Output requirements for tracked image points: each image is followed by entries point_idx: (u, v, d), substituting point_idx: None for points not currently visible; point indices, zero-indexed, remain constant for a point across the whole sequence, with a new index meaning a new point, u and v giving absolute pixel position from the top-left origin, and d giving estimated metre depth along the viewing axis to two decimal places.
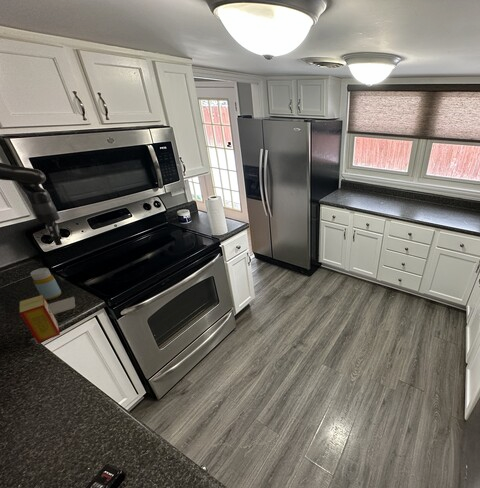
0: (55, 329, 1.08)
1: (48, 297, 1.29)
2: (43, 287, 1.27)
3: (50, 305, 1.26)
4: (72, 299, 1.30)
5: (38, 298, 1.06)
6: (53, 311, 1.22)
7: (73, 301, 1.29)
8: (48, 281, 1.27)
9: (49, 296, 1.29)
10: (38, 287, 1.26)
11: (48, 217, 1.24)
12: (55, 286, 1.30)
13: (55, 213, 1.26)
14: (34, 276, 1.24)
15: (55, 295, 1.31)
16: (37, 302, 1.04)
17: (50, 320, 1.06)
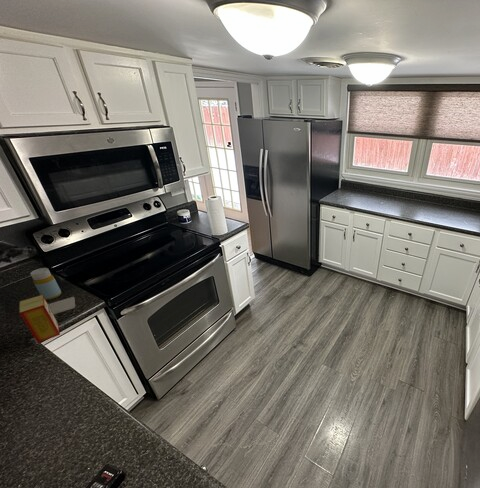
0: (55, 329, 1.08)
1: (48, 297, 1.29)
2: (43, 287, 1.27)
3: (50, 305, 1.26)
4: (72, 299, 1.30)
5: (38, 298, 1.06)
6: (53, 311, 1.22)
7: (73, 301, 1.29)
8: (48, 281, 1.27)
9: (49, 296, 1.29)
10: (38, 287, 1.26)
11: None
12: (55, 286, 1.30)
13: None
14: (34, 276, 1.24)
15: (55, 295, 1.31)
16: (37, 302, 1.04)
17: (50, 320, 1.06)
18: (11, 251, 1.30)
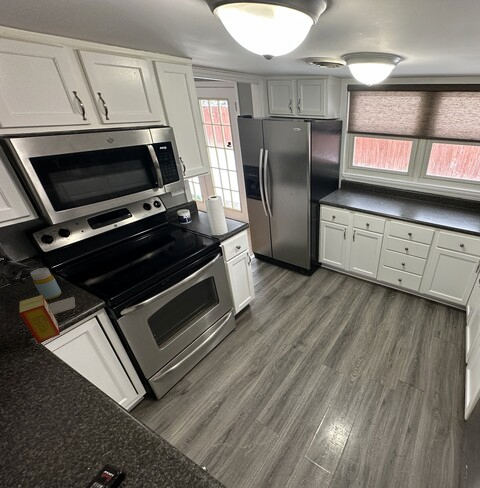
0: (55, 329, 1.08)
1: (48, 297, 1.29)
2: (43, 287, 1.27)
3: (50, 305, 1.26)
4: (72, 299, 1.30)
5: (38, 298, 1.06)
6: (53, 311, 1.22)
7: (73, 301, 1.29)
8: (48, 281, 1.27)
9: (49, 296, 1.29)
10: (38, 287, 1.26)
11: None
12: (55, 286, 1.30)
13: None
14: (34, 276, 1.24)
15: (55, 295, 1.31)
16: (37, 302, 1.04)
17: (50, 320, 1.06)
18: (24, 272, 1.33)
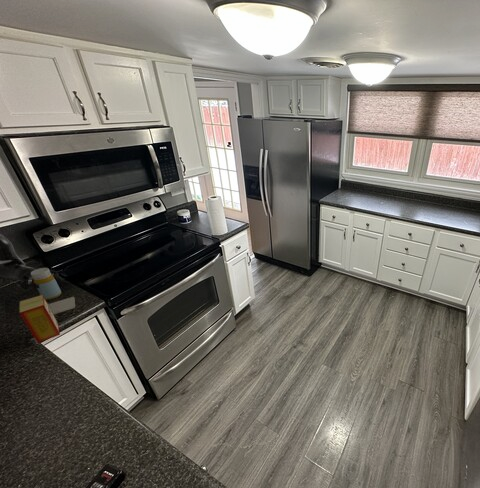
0: (55, 329, 1.08)
1: (48, 297, 1.29)
2: (44, 287, 1.27)
3: (50, 305, 1.26)
4: (72, 299, 1.30)
5: (38, 298, 1.06)
6: (53, 311, 1.22)
7: (73, 301, 1.29)
8: (48, 281, 1.27)
9: (49, 296, 1.29)
10: None
11: None
12: (55, 286, 1.30)
13: None
14: (34, 276, 1.24)
15: (55, 295, 1.31)
16: (37, 302, 1.04)
17: (50, 320, 1.06)
18: None
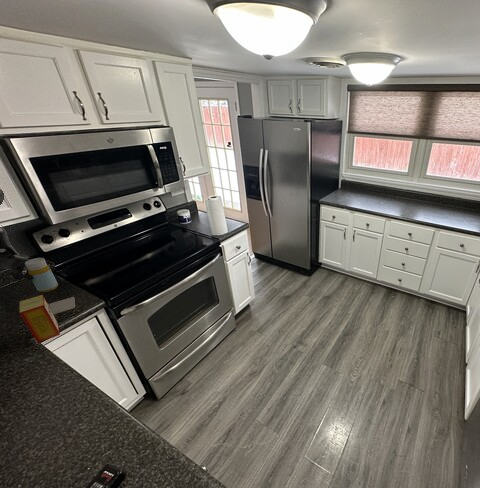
0: (55, 329, 1.08)
1: (44, 289, 1.21)
2: (39, 279, 1.18)
3: (50, 305, 1.26)
4: (72, 299, 1.30)
5: (38, 298, 1.06)
6: (53, 311, 1.22)
7: (73, 301, 1.29)
8: (44, 272, 1.19)
9: (45, 289, 1.21)
10: None
11: None
12: (51, 277, 1.22)
13: None
14: (29, 266, 1.15)
15: (51, 287, 1.22)
16: (37, 302, 1.04)
17: (50, 320, 1.06)
18: None
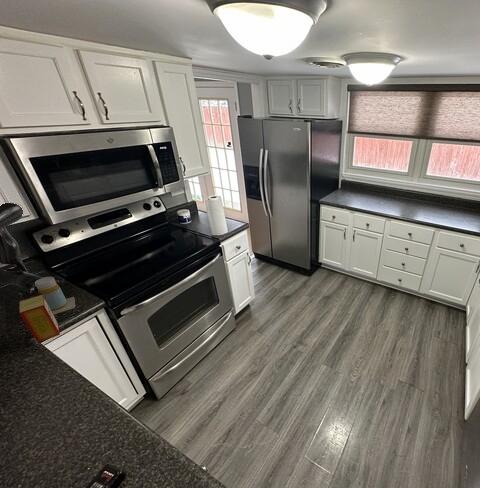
0: (55, 329, 1.08)
1: (53, 308, 1.22)
2: (49, 298, 1.19)
3: None
4: (72, 299, 1.30)
5: (38, 298, 1.06)
6: (53, 311, 1.22)
7: (73, 301, 1.29)
8: (53, 291, 1.20)
9: (55, 307, 1.22)
10: None
11: None
12: (61, 296, 1.23)
13: None
14: (39, 286, 1.16)
15: (61, 305, 1.23)
16: (37, 302, 1.04)
17: (50, 320, 1.06)
18: None
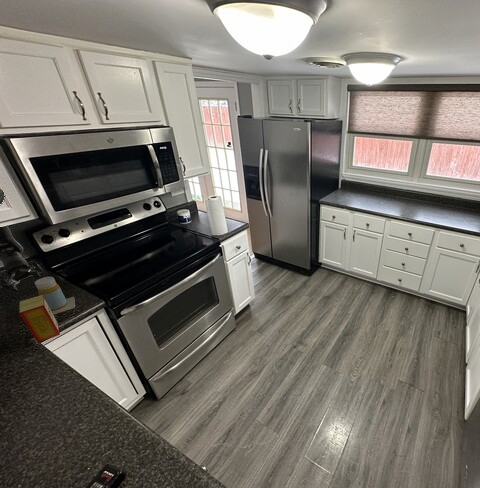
0: (55, 329, 1.08)
1: (53, 308, 1.22)
2: (49, 298, 1.19)
3: None
4: (72, 299, 1.30)
5: (38, 298, 1.06)
6: (53, 311, 1.22)
7: (73, 301, 1.29)
8: (53, 291, 1.20)
9: (55, 307, 1.22)
10: None
11: None
12: (61, 296, 1.23)
13: None
14: (39, 286, 1.16)
15: (61, 305, 1.23)
16: (37, 302, 1.04)
17: (50, 320, 1.06)
18: (18, 273, 1.24)
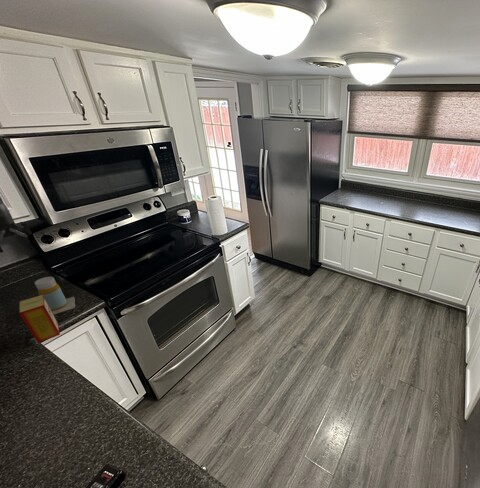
0: (55, 329, 1.08)
1: (53, 308, 1.22)
2: (49, 298, 1.19)
3: None
4: (72, 299, 1.30)
5: (38, 298, 1.06)
6: (53, 311, 1.22)
7: (73, 301, 1.29)
8: (53, 291, 1.20)
9: (55, 307, 1.22)
10: None
11: None
12: (61, 296, 1.23)
13: None
14: (39, 286, 1.16)
15: (61, 305, 1.23)
16: (37, 302, 1.04)
17: (50, 320, 1.06)
18: None
